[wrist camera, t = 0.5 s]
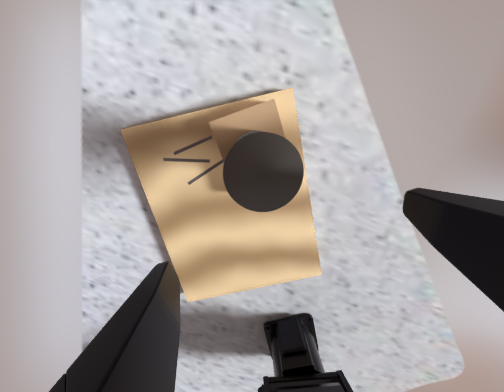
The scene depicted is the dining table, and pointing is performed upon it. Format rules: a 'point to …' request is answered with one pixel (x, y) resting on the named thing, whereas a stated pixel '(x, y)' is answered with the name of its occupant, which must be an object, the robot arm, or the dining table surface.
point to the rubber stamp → (258, 158)
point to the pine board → (220, 206)
